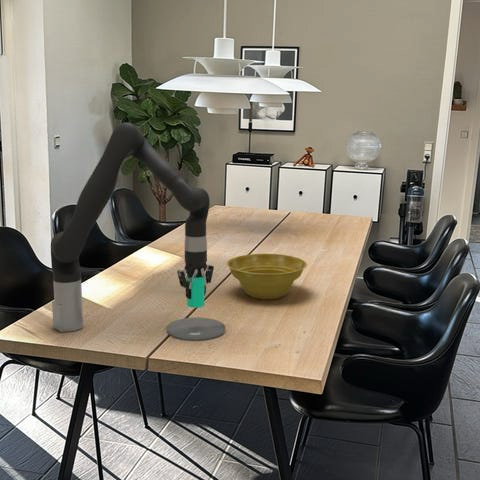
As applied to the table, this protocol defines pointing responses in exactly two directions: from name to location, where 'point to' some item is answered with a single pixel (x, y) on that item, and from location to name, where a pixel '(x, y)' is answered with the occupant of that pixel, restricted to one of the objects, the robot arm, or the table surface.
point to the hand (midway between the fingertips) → (195, 296)
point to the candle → (196, 293)
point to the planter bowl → (266, 273)
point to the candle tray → (196, 329)
